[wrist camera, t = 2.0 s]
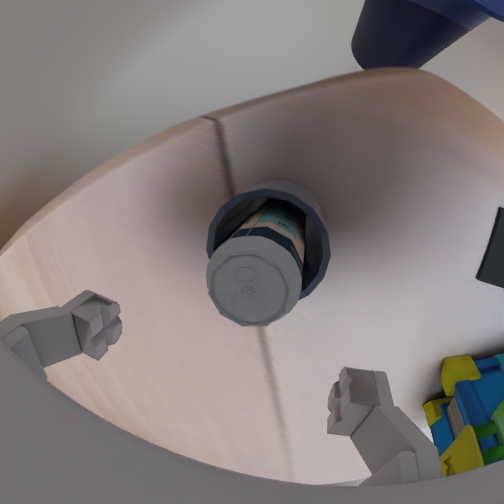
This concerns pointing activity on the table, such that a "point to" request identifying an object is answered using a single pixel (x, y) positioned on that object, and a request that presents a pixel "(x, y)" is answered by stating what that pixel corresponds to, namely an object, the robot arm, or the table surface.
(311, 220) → the cup
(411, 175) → the table surface
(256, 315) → the supplement bottle
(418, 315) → the table surface
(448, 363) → the decorative book
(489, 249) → the mat
